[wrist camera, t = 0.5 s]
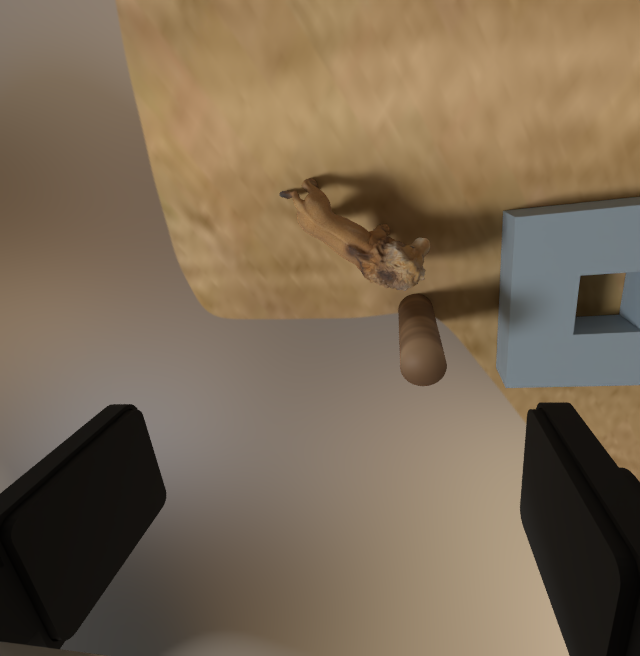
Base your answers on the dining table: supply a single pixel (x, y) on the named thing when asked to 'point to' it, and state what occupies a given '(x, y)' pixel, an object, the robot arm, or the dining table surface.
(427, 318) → the peg
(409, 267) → the lion figurine
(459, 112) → the dining table surface
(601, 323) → the socket block
